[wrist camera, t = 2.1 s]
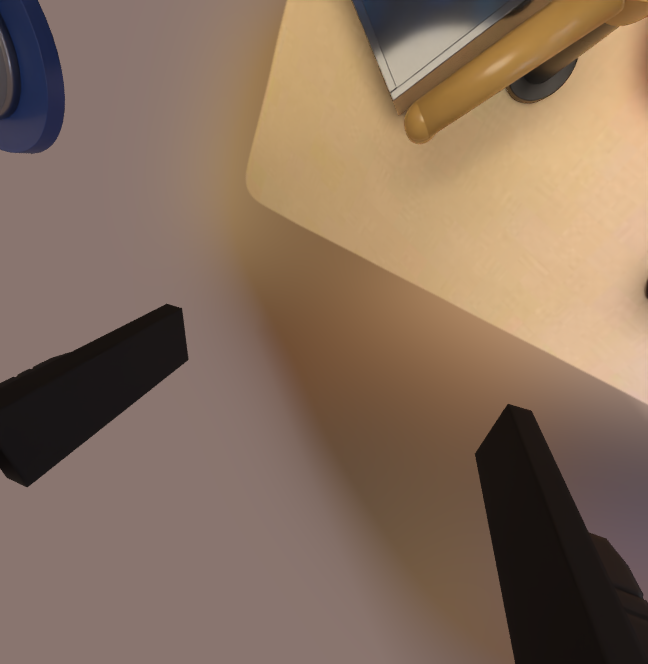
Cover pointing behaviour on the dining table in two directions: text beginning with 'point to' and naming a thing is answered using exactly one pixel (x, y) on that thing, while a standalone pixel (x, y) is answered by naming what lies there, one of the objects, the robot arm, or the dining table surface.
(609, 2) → the faucet spout
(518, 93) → the faucet base
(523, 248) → the dining table surface
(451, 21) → the sink
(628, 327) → the dining table surface
